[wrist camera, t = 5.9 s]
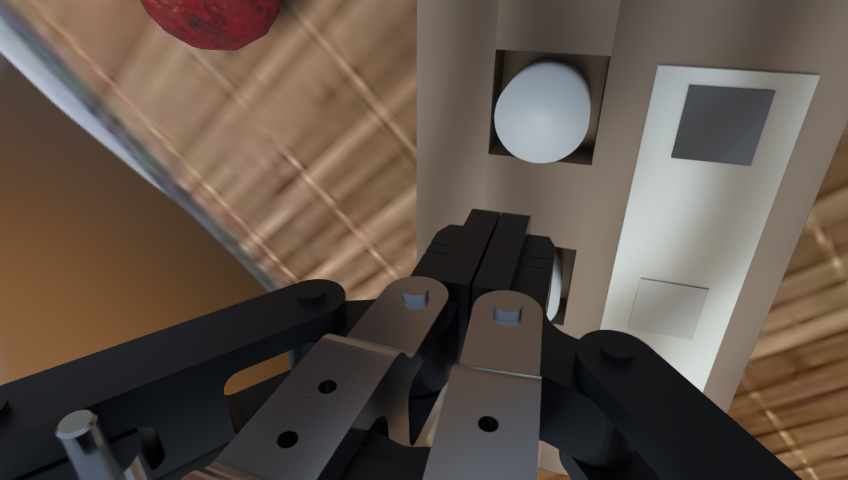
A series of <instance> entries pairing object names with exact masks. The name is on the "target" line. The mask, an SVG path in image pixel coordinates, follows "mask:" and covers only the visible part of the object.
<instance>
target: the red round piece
mask: <svg viewBox="0 0 848 480" xmlns="http://www.w3.org/2000/svg"><path fill="white" fill-rule="evenodd" d="M140 1H141V3H142V5H143V7H144V9H145V10H146V12H147V13H148V14H149V15H150V16H151V17H152V18H153V19H154V20H155V21H156V22H157V23H158V24H159V25H160V26H161V27H162V28H163V29H164V31H166V32H167V33H169V34H171V35H172V36H174V37H176V38H178V39H180V40H181V41H183V42H185V43H187V44H189V45H190V46H192V47H196V48H200V49H209V50H238V49H240V48H242V47H244V46H246V45H247V44H249V43H251V42H253V41H255V40H257V39H259V38H260V37H262V36H264V35H266V34H267V32H268V31H269V29H270V27H271V26H272V24H273V22H274V21H275V19H276V17H277V15H278V14H279V10H280V1H281V0H140Z"/></svg>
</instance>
